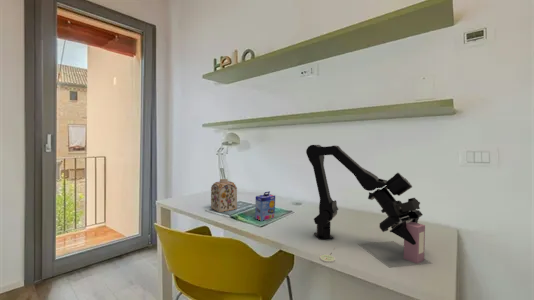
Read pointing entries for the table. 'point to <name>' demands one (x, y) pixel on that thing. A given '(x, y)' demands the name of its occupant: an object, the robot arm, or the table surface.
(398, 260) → the mat
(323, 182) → the robot arm
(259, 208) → the ink cartridge box
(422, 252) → the pink box
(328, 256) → the sign
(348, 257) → the table surface
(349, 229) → the table surface
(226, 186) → the decorative jar
